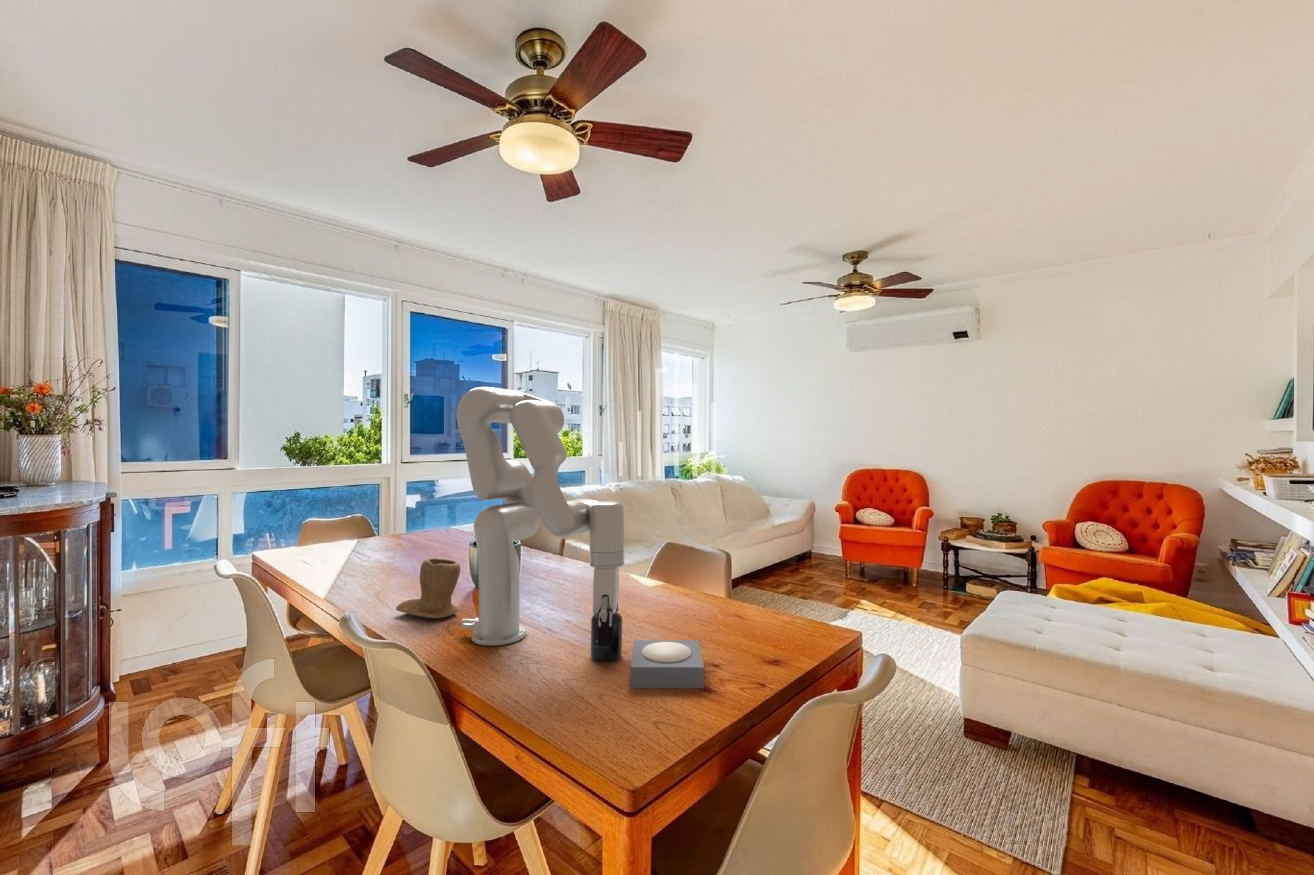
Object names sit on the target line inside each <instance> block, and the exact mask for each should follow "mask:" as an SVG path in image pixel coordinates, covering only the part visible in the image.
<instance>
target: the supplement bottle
mask: <svg viewBox="0 0 1314 875" xmlns="http://www.w3.org/2000/svg"><path fill="white" fill-rule="evenodd" d="M608 603H609V599H608ZM607 611H610V610H607ZM598 624H599V612H598V613H596V615H594V614H593V615H592V616H591V619H590V658H591V659H592V660H594V661H596V662H599V663H613V662H616V661H618V660H620V658H621V657H622V654H623V653H622V651H623V617H622V615H621V614H620V613H619V603H618V604H617V609H616V613H615V614H613V615H612V625H613V639H614V643H613V645H609V646H599V645H598Z"/></svg>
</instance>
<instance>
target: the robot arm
mask: <svg viewBox="0 0 1314 875" xmlns="http://www.w3.org/2000/svg"><path fill="white" fill-rule="evenodd" d="M563 412H564V411H562V409H561V407H560V406H558V405H557V404H556V403H555V402H552V401H550V400H546V399H543V398H540V397H537V396H533V395H531V394H528V393H525V392H521V391H518V390H512V389H506V388H499V387H490V386H479V387H475V388H472V389H470V390H468V391H467V392H465V394H463V396H462V397H461V399H460V401H459V403H458V406H457V409H456V422H457V427H458V431H459V433H460V437H461V439H462V442H463V446H464V447H463V448H464V451H465V456H466V462H467V467H468V472H469V478H470V482H471V486H472V490H473V492H474V494H475V496H476V498H478V499H480V500H482V501H495V500H503V502H504V503H501V504H494V505H490V506H487V507H486V508H484V509H482V510H481V511H480V512H479V513H478V514H477V516H476V517H475V519H474V522H473V534H474V538H475V543H476V548H477V549H476V551H477V565H478V567H477V568H478V569H477V570H478V572H477V574H478V580H477V581H478V582H477V583H478V585H477V586H478V588H477V589H478V591H477V592H478V595H477V597H478V599H477V600H478V602H477V604H478V610H477V611H478V613H477V615H478V616H477V617H475V618H474V619H473V618H462V619H461V622H460V626H461V628H462V629H463V630H472V633H471V636H470V637H471V641H472V642H473V643H475V644H476V645H480V646H488V647H489V646H496V647H497V646H504V645H509V644H513V643H516V642H518V641H520V640H522V639H523V638H525V636H526V634H527V628H526V627H525V626H524V625H521V624H520V558H519V555H518V551H517V549H516V548H515V544H514V542H517V541H518V542H519V541H521V540H522V541H523V540H525V539H528V538H530V537H532V536H534V535H535V534H536V533H537V531H538V529H539V527H540V521H541V522H542V524H543V525H544V526H545V528H546V530H548V532H549V533H550V534H552V535H553V536H555V537H558V538H565V537H569V536H574V535H577V534H581V533H585V532H589V533H588V534H589V536H588V537H589V567H591V568H593V578H592V579H593V581H592V582H593V585H592V587H593V588H592V614H593V615H596V613H598V612H599V624H598V645H599V646H609V645H613V643H614V639H613V625H612V615H613V614H615V613H616V609H617V604H618V605H619V598H620V596H619V595H620V594H619V592H620V567H623V566H625V525H624V524H625V518H624V516H625V515H624V514H625V513H624V512H625V511H624V505H623V504H622V503H621V502H619V501H615V500H601V501H599V500H595V499H592V498H591V499H590V498H577V499H570V500H566V498H565V496H564V494H563V491H562V490H561V487H560V484H559V480H558V474H559V473H558V472H559V468H560V467H561V465H562V464H563V463H565V461H566V460H567V456H568V452H567V450H566V448H565V445H564V444H563V442H562V441H561V438H560V437H559V433H560V432H561V431H562V429H563V427H564V425H565V415H564V413H563ZM492 423H493V424H494V423H496V424H510V425H512V428H513V430H514V432H515V434H516V436H517V438H518V440H519V442H520V444H521V447H522V448H523V451H524V453H525V455H526V458H527V459H528V461H529V463H530V466H531V467H532V475H531V473H530V470H529V469H528V467H527V466H526V465H525V464H523V462H521V461H518V460H513V459H511V460H510V459H508V460H506V459H505V456H504V453H503V448H502V444H501V440H500V437H499V436H498V435H497V433H496V431H495V430H494V428H492V425H491V424H492ZM608 599H609V603H608ZM607 610H610V611H607Z"/></svg>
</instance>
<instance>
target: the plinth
mask: <svg viewBox="0 0 1314 875" xmlns="http://www.w3.org/2000/svg"><path fill="white" fill-rule="evenodd" d="M630 689H705V665H704V661H703V657H702V653H701V647H700V640H699V639H697V640H694V639H693V640H690V639H688V640H687V639H686V640H685V639H684V640H683V639H681V640H680V639H679V640H678V639H677V640H676V639H675V640H674V639H673V640H671V639H668V640H667V639H666V640H665V639H663V640H662V639H660V640H659V639H648V640H647V639H645V640H644V639H642V640H640V639H639V640H638V639H634V640H633V643H632V653H631V661H630Z"/></svg>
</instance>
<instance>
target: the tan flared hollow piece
mask: <svg viewBox="0 0 1314 875" xmlns="http://www.w3.org/2000/svg"><path fill="white" fill-rule="evenodd" d="M460 574H461V565H460V563H459V562H458V561H456V560H452V559H445V558H434V557H433V558H431V557H429V558H425V559H424V561H423V562H422V563H421V565H420V571H419V585H420V592H421V595H420V598H413V599H408V600H405V601H403V602H400V603H399V604H397V606H395V607H396V608H395V610H396V611H397V612H401V613H405V614H409V615H412V616H417V617H421V618H428V619H443V618H447V617H450V616H452V615H453V616H454V614H456V613H457V612H459V607H457V606H456V605H454V604H453V603H452V597H453V594H454V591H455V589H456V587H457V583H458V581H459V578H460Z"/></svg>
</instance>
